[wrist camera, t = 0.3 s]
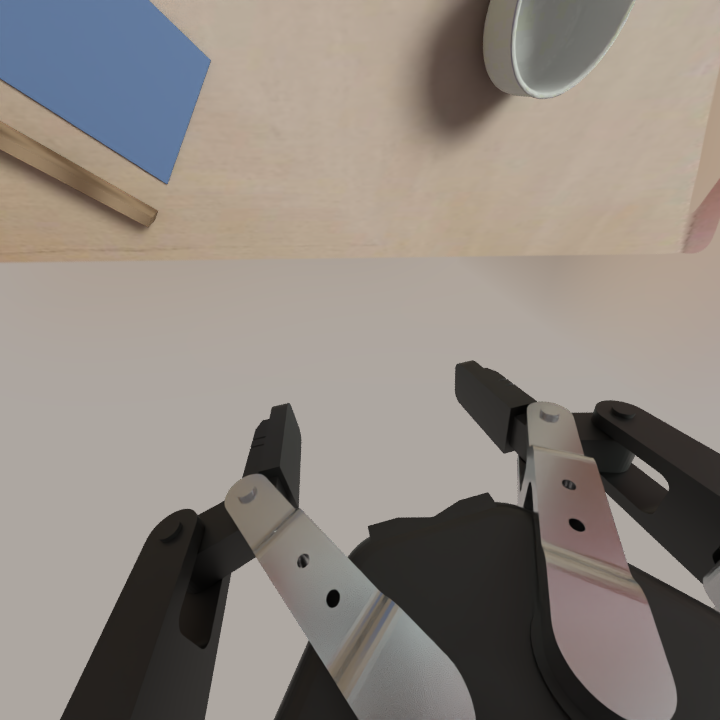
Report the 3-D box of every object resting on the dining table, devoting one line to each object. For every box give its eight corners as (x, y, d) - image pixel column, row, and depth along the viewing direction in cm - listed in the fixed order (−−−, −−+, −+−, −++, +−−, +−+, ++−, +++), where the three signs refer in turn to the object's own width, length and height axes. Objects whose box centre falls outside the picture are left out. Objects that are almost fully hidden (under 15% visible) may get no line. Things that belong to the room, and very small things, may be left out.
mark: (-7, 73, 21) (-9, 73, 21) (0, -144, 16) (-2, -146, 16) (167, 183, 28) (167, 184, 28) (210, 60, 23) (210, 60, 23)
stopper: (-9, 130, 23) (-30, 133, 21) (-8, 116, 22) (-31, 118, 20) (154, 219, 30) (148, 227, 28) (158, 210, 29) (151, 217, 28)
